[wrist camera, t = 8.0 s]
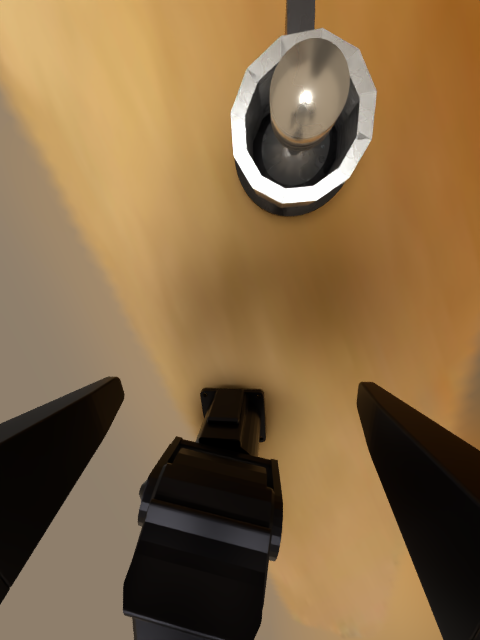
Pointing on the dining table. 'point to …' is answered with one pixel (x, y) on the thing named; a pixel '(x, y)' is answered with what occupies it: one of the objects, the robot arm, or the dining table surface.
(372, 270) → the dining table surface
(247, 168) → the octagonal collar cylinder
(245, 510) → the robot arm
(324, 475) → the dining table surface
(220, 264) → the dining table surface
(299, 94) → the plunger
